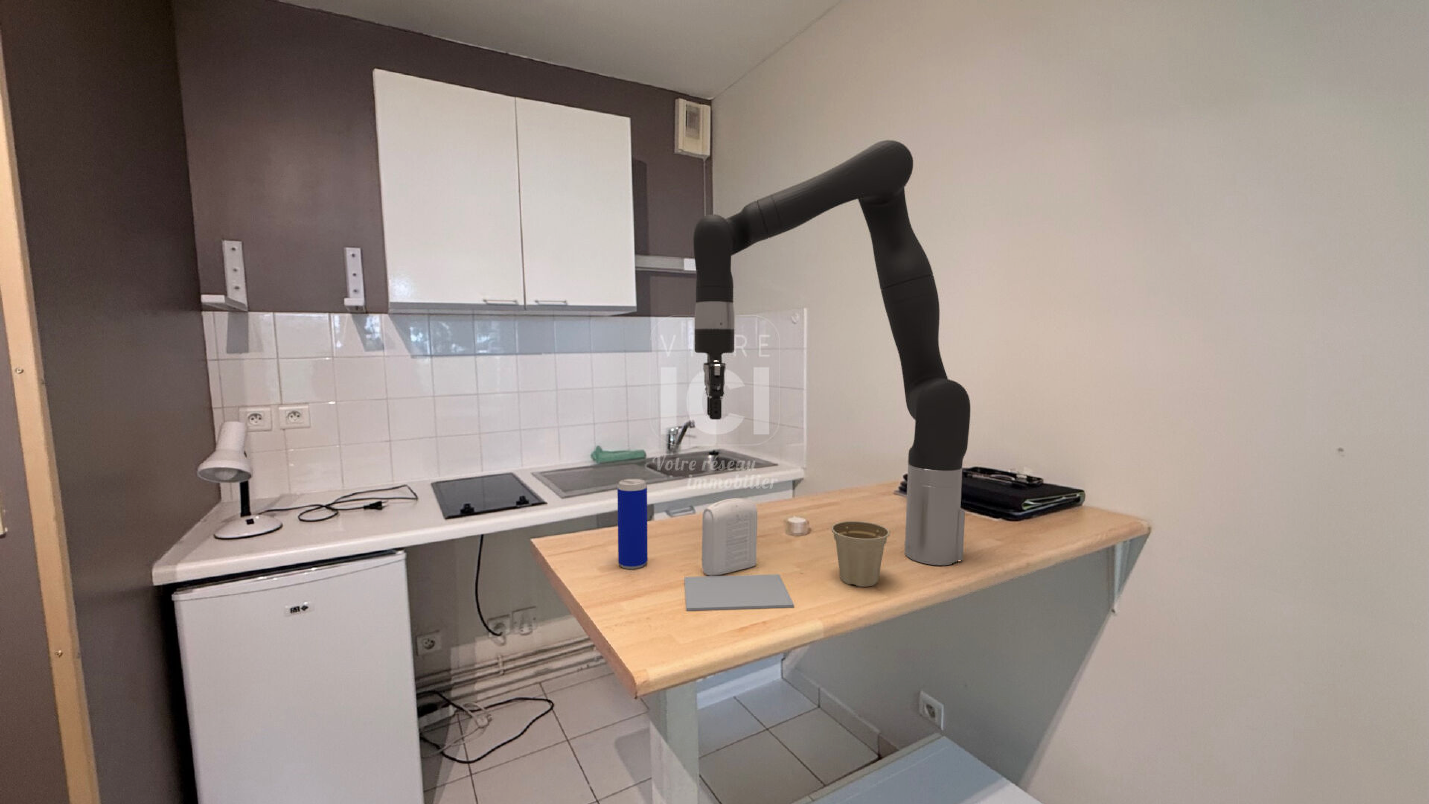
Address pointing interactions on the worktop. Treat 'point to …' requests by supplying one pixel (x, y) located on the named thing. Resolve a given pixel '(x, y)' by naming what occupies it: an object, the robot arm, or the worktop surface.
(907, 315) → the robot arm
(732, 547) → the photo printer
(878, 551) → the flower pot
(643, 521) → the beverage can
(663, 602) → the worktop surface
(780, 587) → the mat
